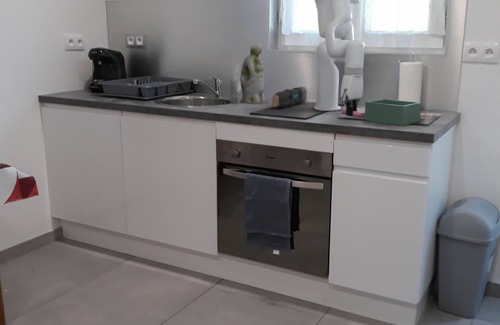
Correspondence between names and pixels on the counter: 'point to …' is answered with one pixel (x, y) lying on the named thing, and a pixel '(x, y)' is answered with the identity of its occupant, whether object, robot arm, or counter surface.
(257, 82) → the sculpture
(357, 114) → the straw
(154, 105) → the counter surface
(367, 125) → the counter surface
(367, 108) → the bin
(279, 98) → the dark brown log
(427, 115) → the counter surface
